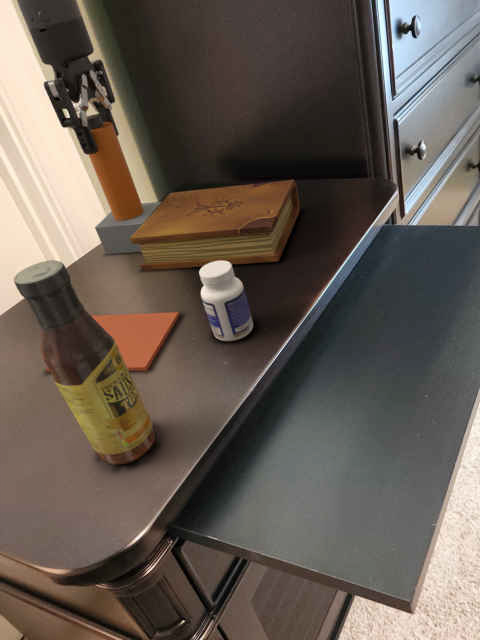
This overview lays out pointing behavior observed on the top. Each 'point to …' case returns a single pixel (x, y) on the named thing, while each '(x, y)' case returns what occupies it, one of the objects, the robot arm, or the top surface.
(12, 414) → the top surface
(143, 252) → the diary
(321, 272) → the top surface
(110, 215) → the grey stand
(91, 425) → the sauce bottle
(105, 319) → the mat
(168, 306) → the top surface
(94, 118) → the amber bottle
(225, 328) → the pill bottle
